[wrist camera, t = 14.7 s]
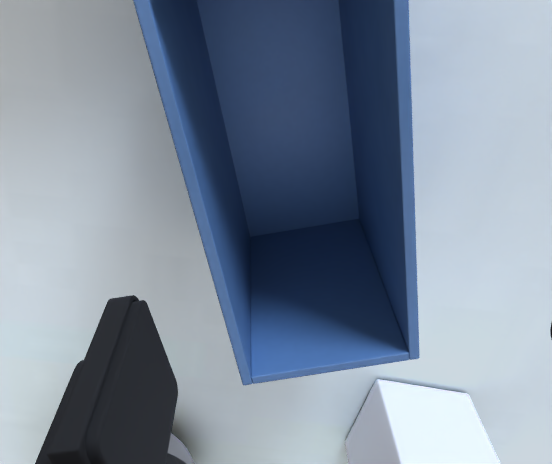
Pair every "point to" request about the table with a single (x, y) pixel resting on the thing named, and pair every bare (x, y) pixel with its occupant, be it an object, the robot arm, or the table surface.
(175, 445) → the pump dispenser
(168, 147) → the table surface
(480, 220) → the table surface
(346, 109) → the blue bin
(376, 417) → the milk carton
